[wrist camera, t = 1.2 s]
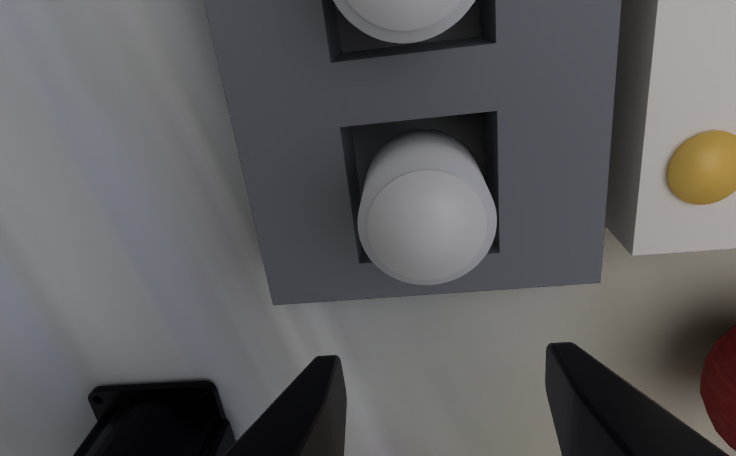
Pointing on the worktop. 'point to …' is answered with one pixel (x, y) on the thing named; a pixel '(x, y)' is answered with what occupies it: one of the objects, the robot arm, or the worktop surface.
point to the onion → (721, 386)
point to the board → (417, 101)
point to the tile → (674, 127)
